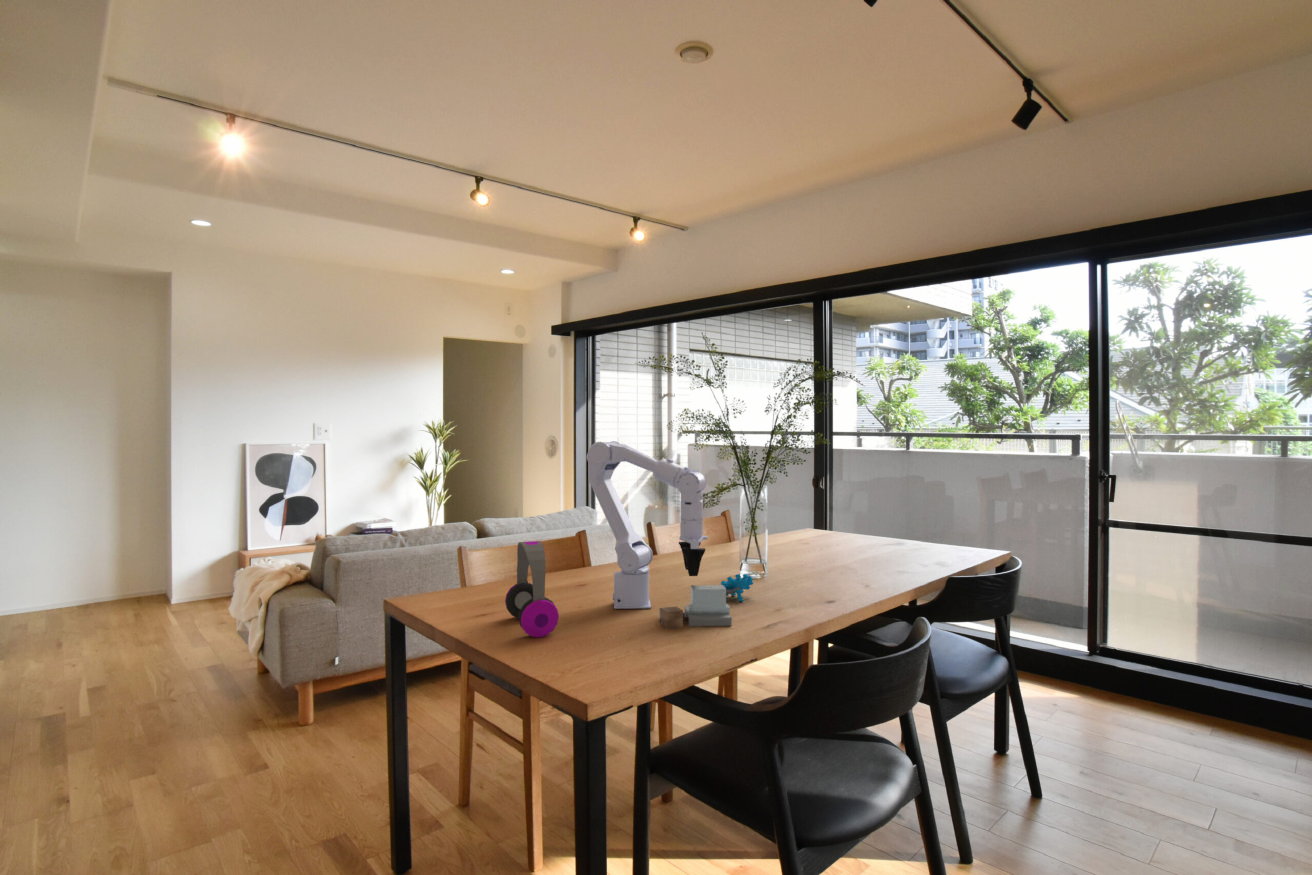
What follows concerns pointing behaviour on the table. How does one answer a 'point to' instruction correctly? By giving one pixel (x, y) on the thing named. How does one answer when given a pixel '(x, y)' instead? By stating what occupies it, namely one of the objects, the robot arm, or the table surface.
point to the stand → (708, 619)
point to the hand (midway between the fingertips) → (691, 572)
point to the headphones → (531, 592)
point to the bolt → (660, 614)
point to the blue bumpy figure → (737, 585)
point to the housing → (708, 600)
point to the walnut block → (671, 617)
